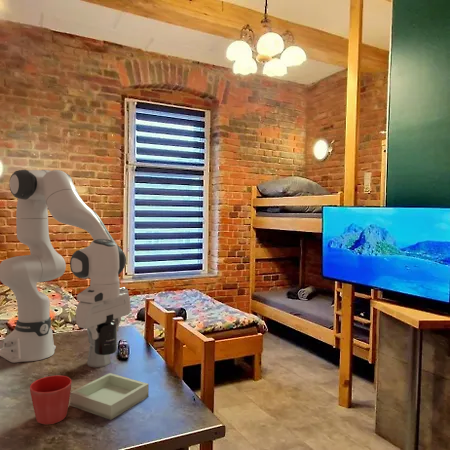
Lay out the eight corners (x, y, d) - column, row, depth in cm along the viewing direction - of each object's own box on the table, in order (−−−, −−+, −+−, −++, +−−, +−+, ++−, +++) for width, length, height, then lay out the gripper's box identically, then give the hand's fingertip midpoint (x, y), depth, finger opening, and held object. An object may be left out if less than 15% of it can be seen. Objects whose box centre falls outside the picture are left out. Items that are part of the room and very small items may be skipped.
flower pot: (29, 431, 108) (29, 395, 107) (30, 412, 118) (30, 378, 117) (73, 423, 112) (72, 388, 111) (70, 405, 122) (70, 372, 122)
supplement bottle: (110, 356, 127) (110, 317, 127) (90, 355, 128) (89, 316, 128) (120, 348, 134) (120, 311, 133) (101, 347, 135) (100, 310, 135)
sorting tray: (70, 405, 122) (70, 392, 122) (109, 385, 136) (109, 372, 136) (110, 419, 114) (110, 405, 114) (148, 396, 128) (148, 383, 128)
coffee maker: (97, 371, 147) (97, 320, 146) (77, 367, 150) (77, 317, 149) (122, 356, 161) (122, 310, 160) (104, 353, 164) (104, 308, 163)
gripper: (120, 285, 141) (120, 325, 142) (72, 296, 123) (72, 342, 124) (135, 286, 138) (135, 328, 139) (87, 298, 120) (88, 346, 121)
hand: (105, 335), depth 131 cm, fingers closed on supplement bottle, 7 cm apart
